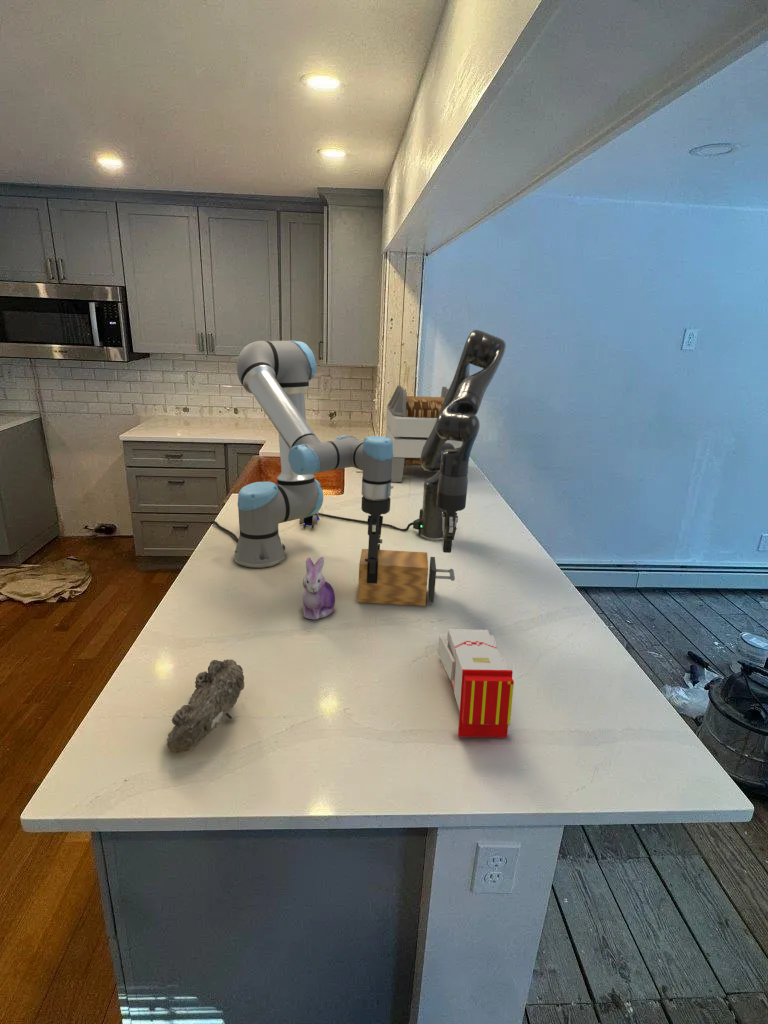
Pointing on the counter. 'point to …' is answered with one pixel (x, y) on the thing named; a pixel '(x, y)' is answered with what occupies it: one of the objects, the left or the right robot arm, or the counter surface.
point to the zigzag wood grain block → (395, 578)
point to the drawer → (433, 577)
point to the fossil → (206, 705)
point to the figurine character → (309, 521)
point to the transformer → (411, 427)
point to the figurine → (317, 592)
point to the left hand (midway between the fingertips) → (373, 573)
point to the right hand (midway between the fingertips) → (446, 551)
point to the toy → (478, 682)
